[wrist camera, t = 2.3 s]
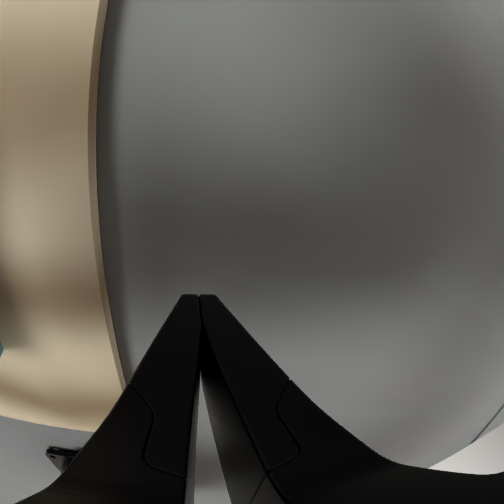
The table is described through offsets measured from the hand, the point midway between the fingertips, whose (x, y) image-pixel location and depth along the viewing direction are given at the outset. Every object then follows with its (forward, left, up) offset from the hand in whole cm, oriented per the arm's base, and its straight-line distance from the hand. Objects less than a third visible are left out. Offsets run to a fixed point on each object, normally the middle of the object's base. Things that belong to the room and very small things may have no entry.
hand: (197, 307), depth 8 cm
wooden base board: (0, +16, -2) cm, 16 cm away
